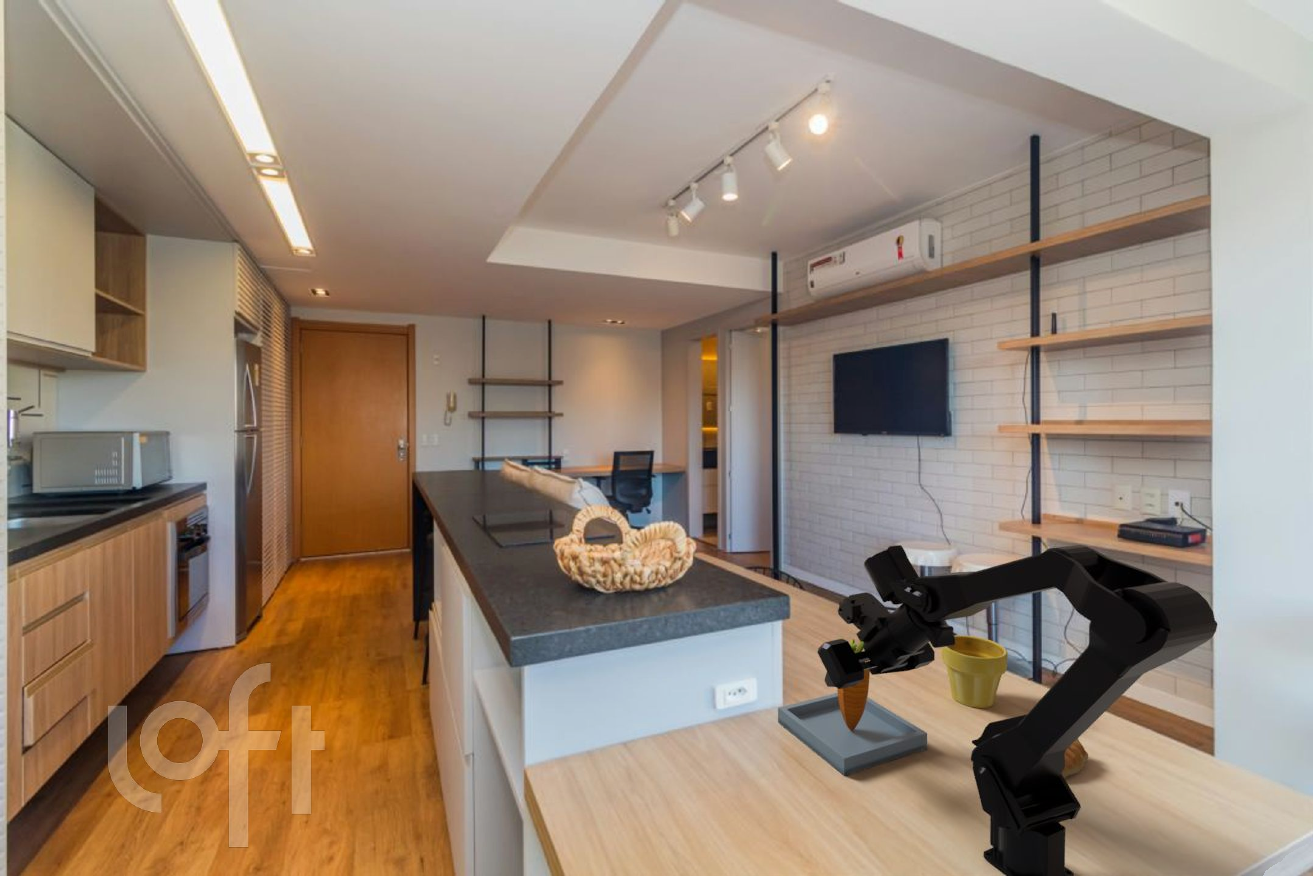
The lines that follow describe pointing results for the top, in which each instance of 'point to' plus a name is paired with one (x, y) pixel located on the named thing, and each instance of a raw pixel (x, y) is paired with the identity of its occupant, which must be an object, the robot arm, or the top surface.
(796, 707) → the tray
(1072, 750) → the pastry
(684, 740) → the top surface
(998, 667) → the plant pot
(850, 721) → the carrot
